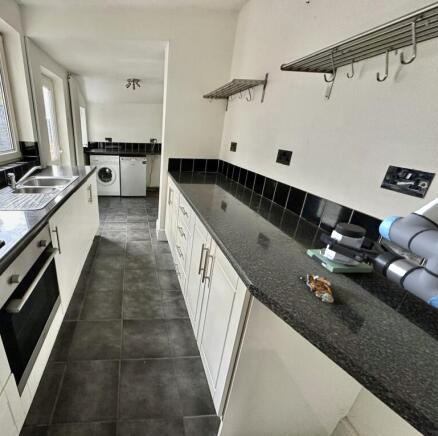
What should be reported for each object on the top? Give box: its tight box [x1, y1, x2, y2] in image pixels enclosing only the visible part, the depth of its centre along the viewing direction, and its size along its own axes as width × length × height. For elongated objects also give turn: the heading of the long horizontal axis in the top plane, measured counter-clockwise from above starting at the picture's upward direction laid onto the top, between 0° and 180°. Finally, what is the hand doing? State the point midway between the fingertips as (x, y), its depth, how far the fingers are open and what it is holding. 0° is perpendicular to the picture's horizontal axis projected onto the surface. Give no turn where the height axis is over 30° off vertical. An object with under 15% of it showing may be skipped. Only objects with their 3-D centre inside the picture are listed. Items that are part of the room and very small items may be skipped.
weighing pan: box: [319, 247, 360, 267], centre depth 88 cm, size 12×12×1 cm
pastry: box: [300, 272, 335, 304], centre depth 72 cm, size 7×12×4 cm, turn 174°
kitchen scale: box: [306, 248, 374, 273], centre depth 88 cm, size 15×13×2 cm
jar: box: [325, 222, 367, 262], centre depth 85 cm, size 9×8×12 cm
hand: (338, 236), depth 88 cm, fingers open, 13 cm apart
